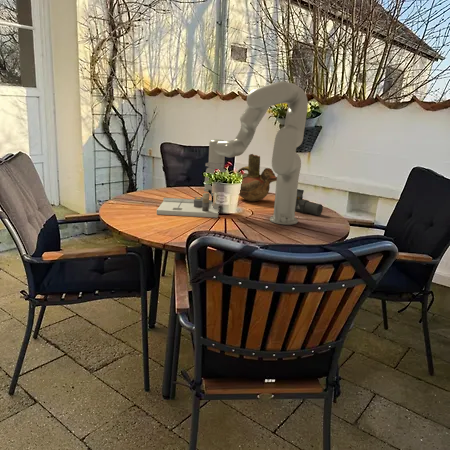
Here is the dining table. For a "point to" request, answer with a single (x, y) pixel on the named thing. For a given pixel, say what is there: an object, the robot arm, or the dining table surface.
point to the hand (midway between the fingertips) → (214, 203)
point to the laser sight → (307, 205)
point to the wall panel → (185, 208)
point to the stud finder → (198, 201)
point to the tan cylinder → (205, 202)
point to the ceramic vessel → (256, 180)
